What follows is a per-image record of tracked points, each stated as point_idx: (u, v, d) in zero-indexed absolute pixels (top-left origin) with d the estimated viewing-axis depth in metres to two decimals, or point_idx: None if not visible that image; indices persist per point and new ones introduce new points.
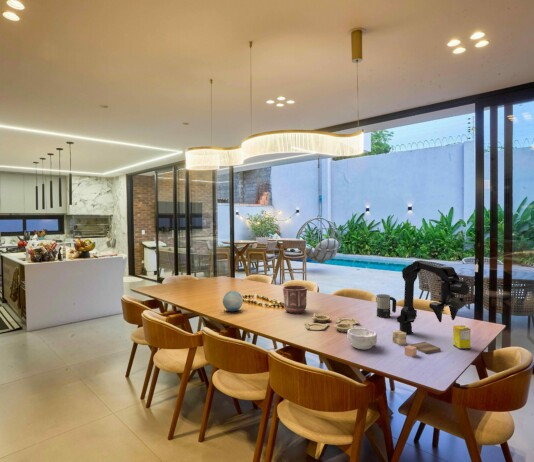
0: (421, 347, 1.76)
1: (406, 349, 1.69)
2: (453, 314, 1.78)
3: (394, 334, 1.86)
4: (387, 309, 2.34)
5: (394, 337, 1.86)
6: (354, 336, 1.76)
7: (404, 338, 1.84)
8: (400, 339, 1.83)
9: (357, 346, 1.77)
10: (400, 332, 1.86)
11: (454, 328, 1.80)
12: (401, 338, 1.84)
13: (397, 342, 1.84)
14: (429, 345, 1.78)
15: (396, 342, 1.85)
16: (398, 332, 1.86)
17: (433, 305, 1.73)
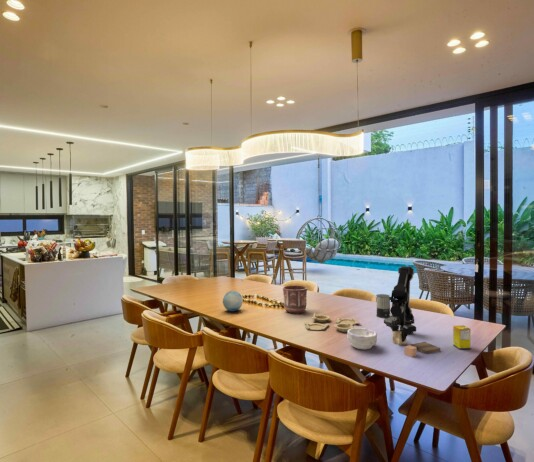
0: (421, 347, 1.76)
1: (406, 349, 1.69)
2: None
3: (394, 334, 1.86)
4: (387, 309, 2.34)
5: (394, 337, 1.86)
6: (354, 336, 1.76)
7: None
8: (400, 338, 1.83)
9: (357, 346, 1.77)
10: (400, 332, 1.86)
11: (454, 328, 1.80)
12: (401, 338, 1.84)
13: (397, 342, 1.84)
14: (429, 345, 1.78)
15: (396, 342, 1.85)
16: (398, 332, 1.86)
17: None
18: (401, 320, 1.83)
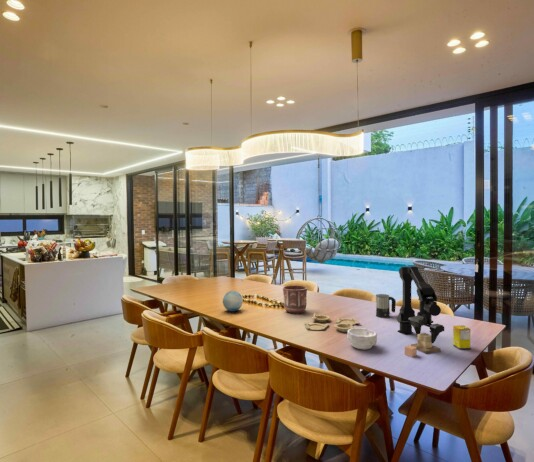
0: (421, 347, 1.76)
1: (406, 349, 1.69)
2: None
3: (419, 337, 1.77)
4: (386, 309, 2.35)
5: (419, 340, 1.77)
6: (354, 336, 1.76)
7: (430, 341, 1.76)
8: (426, 342, 1.75)
9: (357, 346, 1.77)
10: (426, 334, 1.77)
11: (454, 328, 1.80)
12: (427, 341, 1.75)
13: (423, 345, 1.75)
14: None
15: (422, 345, 1.76)
16: (423, 335, 1.77)
17: None
18: (428, 319, 1.74)
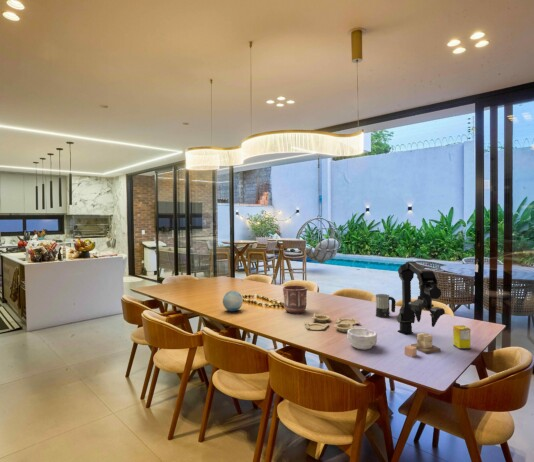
0: (421, 347, 1.76)
1: (406, 349, 1.69)
2: None
3: (419, 337, 1.77)
4: (386, 309, 2.35)
5: (419, 340, 1.77)
6: (354, 336, 1.76)
7: (430, 341, 1.76)
8: (426, 341, 1.75)
9: (357, 346, 1.77)
10: (426, 334, 1.77)
11: (454, 328, 1.80)
12: (426, 341, 1.75)
13: (422, 345, 1.75)
14: None
15: (421, 345, 1.76)
16: (423, 335, 1.77)
17: None
18: (428, 303, 1.74)
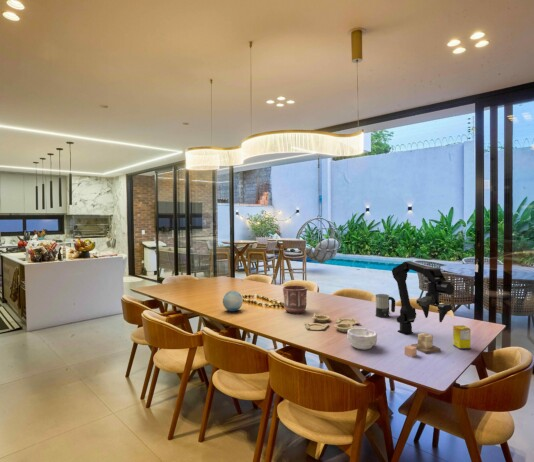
0: (421, 347, 1.76)
1: (406, 349, 1.69)
2: None
3: (420, 337, 1.77)
4: (386, 309, 2.35)
5: (420, 340, 1.77)
6: (354, 336, 1.76)
7: (430, 341, 1.76)
8: (427, 342, 1.75)
9: (357, 346, 1.77)
10: (426, 334, 1.77)
11: (454, 328, 1.80)
12: (427, 341, 1.75)
13: (424, 345, 1.75)
14: None
15: (422, 345, 1.76)
16: (424, 335, 1.77)
17: None
18: (436, 299, 1.81)
